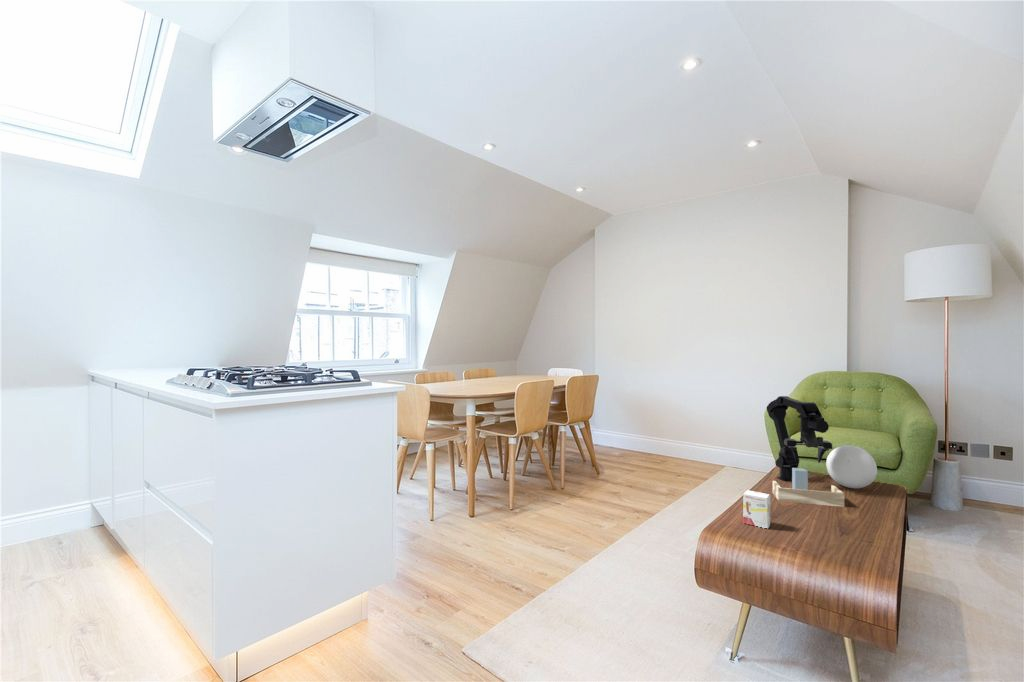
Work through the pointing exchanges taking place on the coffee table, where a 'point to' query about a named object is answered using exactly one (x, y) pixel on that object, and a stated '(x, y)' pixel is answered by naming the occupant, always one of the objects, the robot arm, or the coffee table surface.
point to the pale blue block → (799, 478)
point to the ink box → (756, 509)
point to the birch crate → (809, 496)
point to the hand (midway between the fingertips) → (807, 461)
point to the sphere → (851, 466)
